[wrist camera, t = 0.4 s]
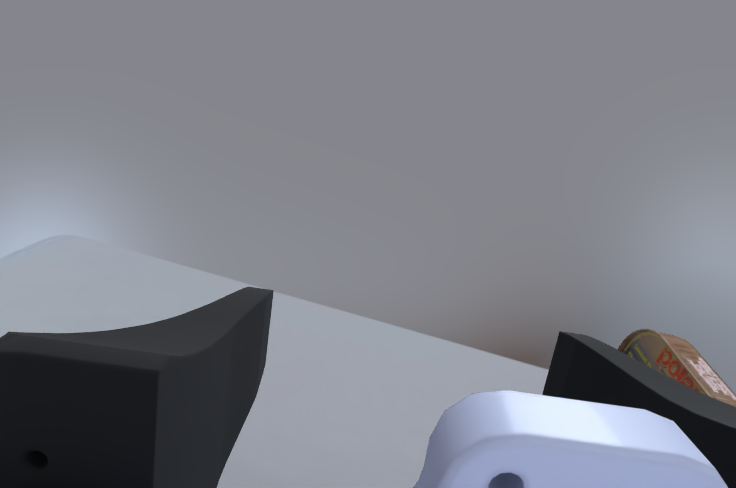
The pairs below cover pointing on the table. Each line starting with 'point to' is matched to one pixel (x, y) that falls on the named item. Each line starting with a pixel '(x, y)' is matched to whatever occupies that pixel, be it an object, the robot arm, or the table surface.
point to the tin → (676, 362)
